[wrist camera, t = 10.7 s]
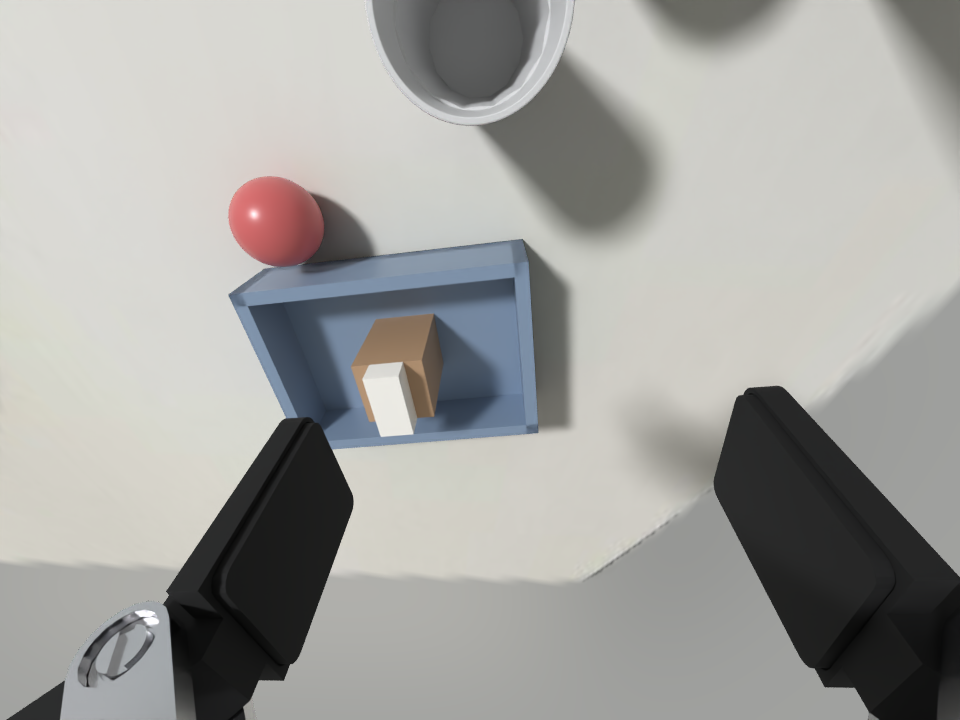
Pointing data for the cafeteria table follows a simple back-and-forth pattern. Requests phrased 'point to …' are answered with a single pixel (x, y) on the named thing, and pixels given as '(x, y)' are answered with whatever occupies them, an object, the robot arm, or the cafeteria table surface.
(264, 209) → the red glossy sphere
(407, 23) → the cup
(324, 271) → the tub
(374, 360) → the brown and white block
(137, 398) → the cafeteria table surface
